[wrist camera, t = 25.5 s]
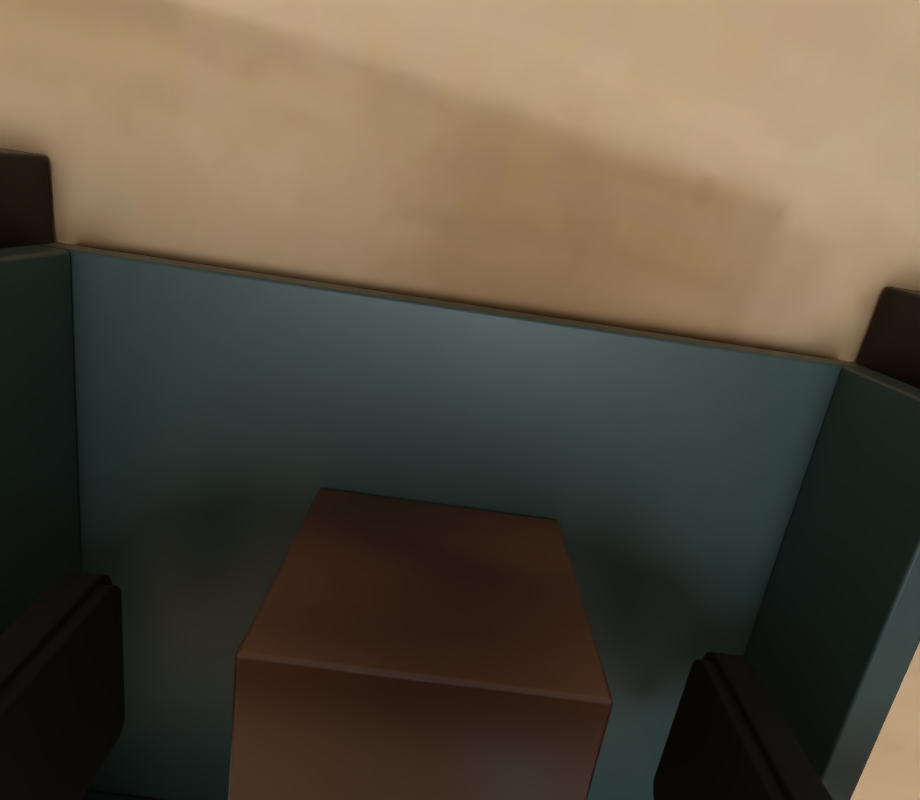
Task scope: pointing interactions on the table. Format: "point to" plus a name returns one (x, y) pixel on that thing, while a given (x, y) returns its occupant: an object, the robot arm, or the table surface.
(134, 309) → the dustpan
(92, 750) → the robot arm
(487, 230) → the table surface
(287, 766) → the block
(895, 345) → the pair of dark blocks
